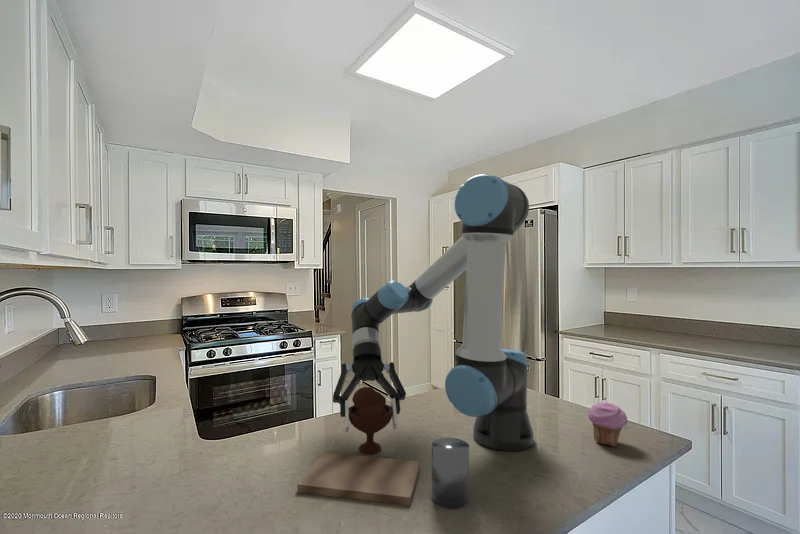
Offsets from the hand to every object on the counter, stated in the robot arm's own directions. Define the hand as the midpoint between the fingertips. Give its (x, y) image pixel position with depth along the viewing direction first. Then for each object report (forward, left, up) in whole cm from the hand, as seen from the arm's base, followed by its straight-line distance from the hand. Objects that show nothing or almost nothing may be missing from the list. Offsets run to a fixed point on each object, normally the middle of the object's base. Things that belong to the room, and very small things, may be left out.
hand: (371, 428), depth 93 cm
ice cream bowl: (+1, -3, -6) cm, 7 cm away
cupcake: (-57, -19, -6) cm, 60 cm away
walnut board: (-1, +11, -6) cm, 13 cm away
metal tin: (-19, +14, -6) cm, 25 cm away
